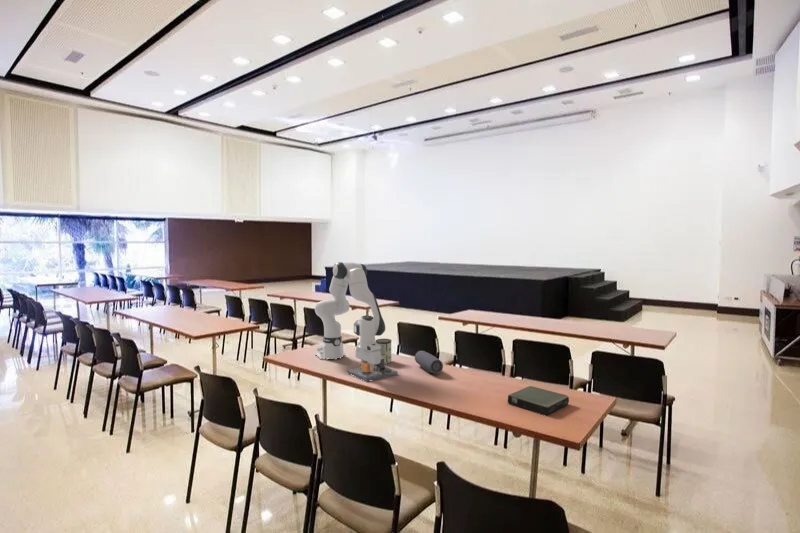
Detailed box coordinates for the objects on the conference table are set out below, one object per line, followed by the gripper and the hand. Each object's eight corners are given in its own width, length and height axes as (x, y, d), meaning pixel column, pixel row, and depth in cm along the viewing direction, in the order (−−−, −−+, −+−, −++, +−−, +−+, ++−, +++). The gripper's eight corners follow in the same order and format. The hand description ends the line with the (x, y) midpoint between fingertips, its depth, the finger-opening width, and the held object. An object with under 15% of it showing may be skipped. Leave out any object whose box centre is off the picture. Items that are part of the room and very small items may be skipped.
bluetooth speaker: (443, 374, 263) (444, 358, 262) (429, 376, 260) (429, 359, 259) (427, 364, 284) (427, 349, 283) (413, 366, 281) (414, 350, 280)
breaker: (377, 367, 269) (377, 357, 269) (381, 366, 271) (381, 357, 271) (380, 368, 267) (380, 358, 267) (384, 367, 269) (384, 358, 268)
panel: (347, 373, 265) (347, 368, 265) (377, 366, 279) (377, 361, 278) (366, 382, 249) (366, 376, 249) (397, 374, 263) (397, 369, 263)
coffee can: (376, 359, 296) (376, 338, 295) (392, 359, 295) (392, 338, 294) (374, 363, 286) (374, 341, 285) (390, 364, 285) (390, 342, 284)
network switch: (525, 393, 233) (525, 383, 233) (571, 404, 218) (571, 394, 218) (504, 406, 215) (505, 396, 215) (553, 418, 200) (553, 407, 200)
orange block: (361, 370, 256) (361, 363, 256) (368, 368, 259) (368, 362, 259) (366, 372, 252) (366, 365, 252) (373, 370, 255) (373, 363, 255)
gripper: (352, 342, 261) (352, 365, 262) (373, 348, 245) (373, 373, 246) (361, 340, 265) (362, 363, 266) (382, 347, 249) (382, 371, 250)
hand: (367, 368), depth 256 cm, fingers closed on orange block, 5 cm apart
